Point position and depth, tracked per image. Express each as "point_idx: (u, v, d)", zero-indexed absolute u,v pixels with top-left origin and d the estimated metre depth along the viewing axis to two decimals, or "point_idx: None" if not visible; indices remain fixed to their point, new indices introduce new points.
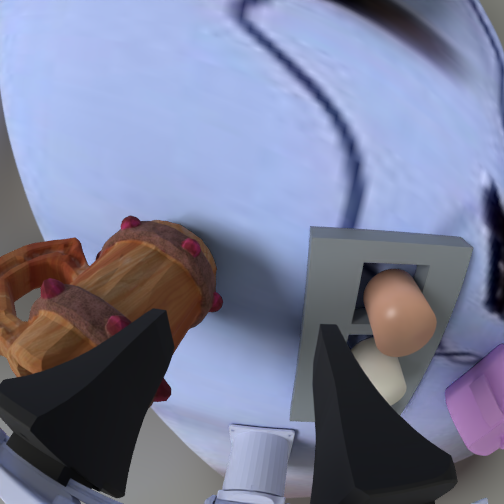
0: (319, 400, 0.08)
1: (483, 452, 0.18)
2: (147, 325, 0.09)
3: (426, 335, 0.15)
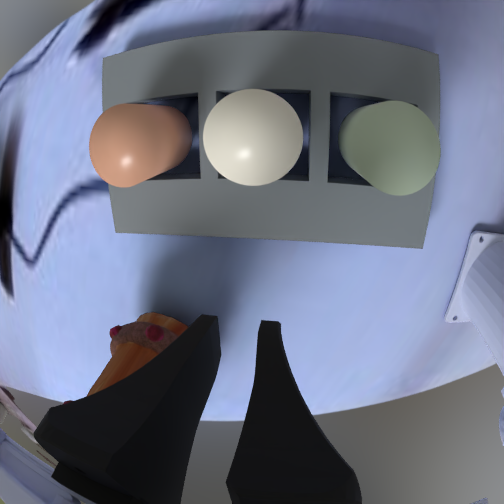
0: None
1: None
2: (204, 334, 0.09)
3: (124, 112, 0.11)
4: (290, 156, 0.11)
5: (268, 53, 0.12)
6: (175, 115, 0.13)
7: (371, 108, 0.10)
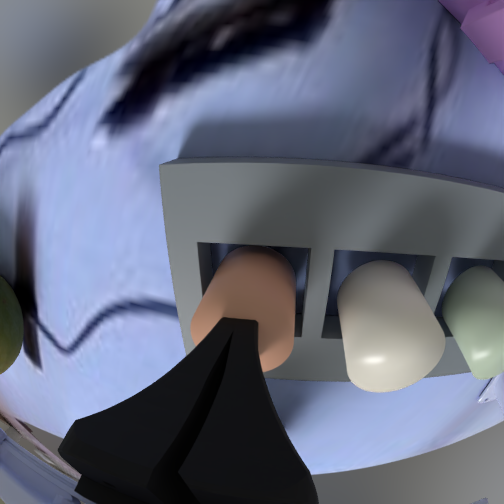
0: None
1: None
2: (228, 337, 0.09)
3: (247, 307, 0.10)
4: (425, 370, 0.09)
5: (403, 208, 0.11)
6: (287, 275, 0.13)
7: (501, 323, 0.08)
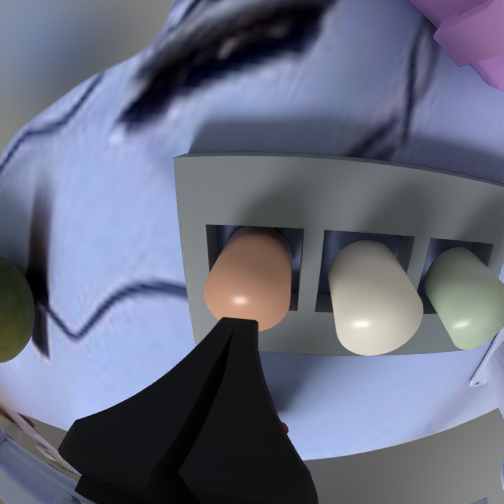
0: None
1: None
2: (228, 337, 0.09)
3: (252, 269, 0.12)
4: (407, 335, 0.11)
5: (383, 193, 0.13)
6: (284, 249, 0.15)
7: (476, 294, 0.10)
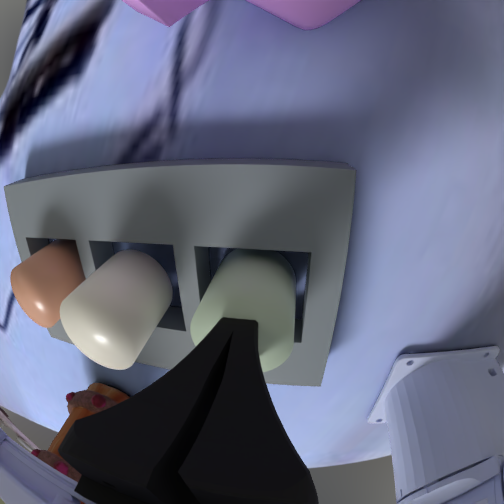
0: None
1: None
2: (228, 337, 0.09)
3: (25, 275, 0.12)
4: (128, 355, 0.10)
5: (125, 200, 0.12)
6: (72, 257, 0.14)
7: (204, 304, 0.10)
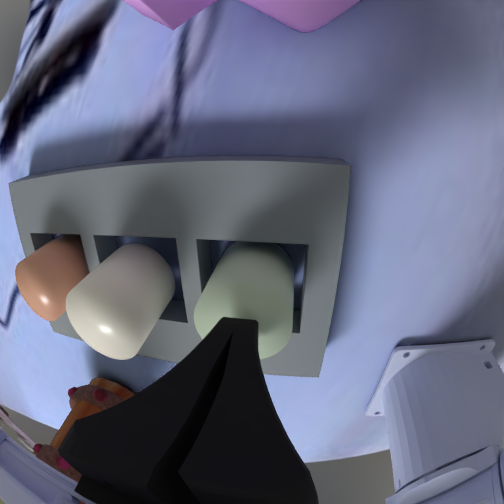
0: None
1: None
2: (228, 337, 0.09)
3: (30, 269, 0.12)
4: (132, 345, 0.11)
5: (130, 195, 0.12)
6: (76, 252, 0.15)
7: (207, 292, 0.11)
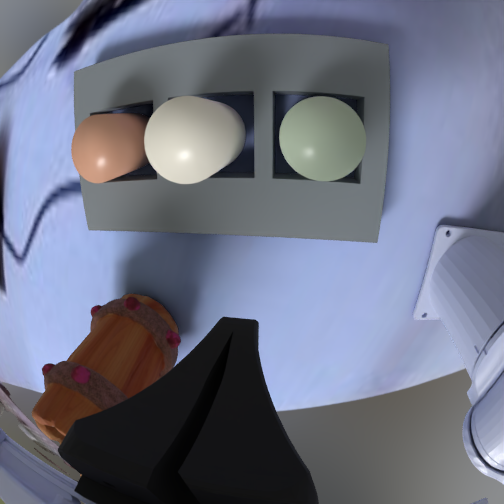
0: None
1: None
2: (228, 337, 0.09)
3: (97, 122, 0.13)
4: (218, 155, 0.12)
5: (214, 59, 0.13)
6: (142, 121, 0.15)
7: (295, 105, 0.12)
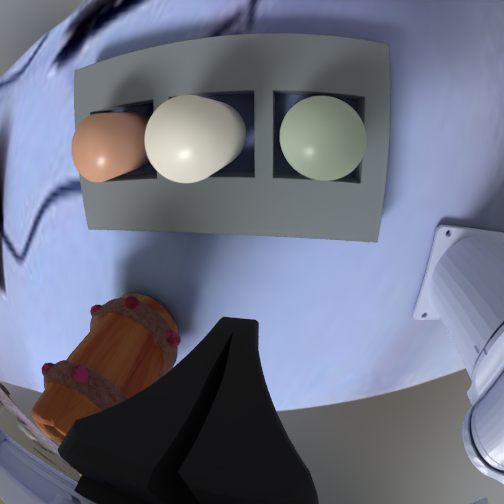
0: None
1: None
2: (228, 337, 0.09)
3: (97, 121, 0.13)
4: (218, 154, 0.12)
5: (214, 58, 0.13)
6: (142, 121, 0.15)
7: (295, 105, 0.12)
